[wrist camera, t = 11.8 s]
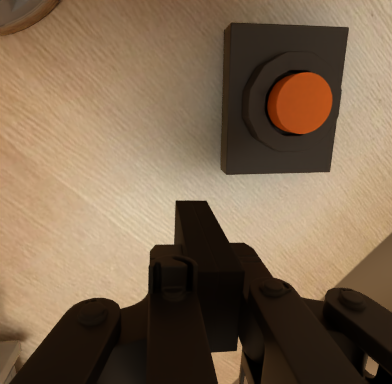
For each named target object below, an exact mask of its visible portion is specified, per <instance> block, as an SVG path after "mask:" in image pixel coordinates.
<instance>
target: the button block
mask: <svg viewBox="0 0 392 384" xmlns="http://www.w3.org/2000/svg"><path fill="white" fill-rule="evenodd" d="M348 31H349V28H348V27H328V26H304V25H279V24H255V23H231V24H230V25H229V26H228V27H227V28H226V29H225V30H224V61H223V97H222V133H221V170H222V171H223V172H224V173H225V174H226V175H235V174H274V173H313V172H330V168H331V160H332V152H333V145H334V137H335V129H336V122H337V118H338V115H339V107H340V100H341V91H342V90H341V84H342V76H343V69H344V61H345V53H346V46H347V38H348ZM303 72H311V73H315V74H317V75H319V76H321V77H322V78H323V79H324V80H325V81H326V82H327V83H328V85H329V87H330V89H331V93H332V107H331V111H330V113H329V116H328V117H327V119H326V120H325V122H324V123H323V124H322V125H321V126H320V127H319V128H317V129H316V130H314V131H312V132H309V133H306V134H297V133H292V132H287V131H283V130H281V129H279V128H277V127H276V126H275V125H274V124H273V123H272V121H271V119H270V117H269V115H268V110H267V102H268V97H269V94H270V92H271V90H272V88H273V87H274V85H275V84H276V83H277V82H278V81H279V80H281V79H282V78H284V77H286V76H289V75H293V74H298V73H303Z"/></svg>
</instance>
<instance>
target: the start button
mask: <svg viewBox="0 0 392 384" xmlns="http://www.w3.org/2000/svg"><path fill="white" fill-rule="evenodd" d="M331 107H332V93H331V89H330V87H329V85H328V83H327V82H326V81H325V80H324V79H323V78H322V77H321V76H319V75H317V74H315V73H311V72H303V73H298V74H293V75H289V76H286V77H284V78H282V79H281V80H279V81H278V82H277V83H276V84H275V85H274V87H273V88H272V90H271V92H270V94H269V97H268V102H267V110H268V115H269V117H270V119H271V121H272V123H273V124H274V125H275V126H276V127H277V128H279V129H281V130H283V131H287V132H292V133H297V134H306V133H309V132H312V131H314V130H316V129H317V128H319V127H320V126H321V125H322V124H323V123H324V122H325V120H326V119H327V117H328V116H329V113H330V111H331Z"/></svg>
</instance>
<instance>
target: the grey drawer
mask: <svg viewBox="0 0 392 384" xmlns="http://www.w3.org/2000/svg"><path fill="white" fill-rule="evenodd" d="M20 352H21V345H20V340H13V341H2V342H0V384H9V383H10V381H11V380H12V379H13V378H14V376H15V375H16V370H15V365H14V363H15V361H16V360H17V358H18V356H19V354H20Z"/></svg>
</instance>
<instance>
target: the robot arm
mask: <svg viewBox="0 0 392 384" xmlns="http://www.w3.org/2000/svg"><path fill="white" fill-rule="evenodd" d="M59 1H60V0H0V36H3V35H7V34H11V33H15V32H17V31H20V30H23V29H25V28H27V27H29V26H31V25H33V24H34V23H36V22H37V21H39V20H41V19H42V18H43V17H44V16H45V15H47V14H48V13H49V12H50V11H51V10H52V9H53V8H54V7H55V6H56V5H57V3H58V2H59ZM238 336H239V339H240V342H241V344H242V356H241V365H240V374H239V384H243V382H244V376H246V379H247V381H248V384H392V312H390V311H389V310H387V309H386V308H384V307H382V306H381V305H380V304H378V303H377V302H375V301H374V300H372V299H370V298H369V297H367V296H366V295H363V294H362V293H360V292H357V291H354V290H352V289H348V288H347V289H346V288H332V289H330V290H328V291H327V293H326V295H325V300H324V301H319V300H312V299H306V298H302V297H300V295H299V294H298V293H297V291H296V290H295V289H294V288H293V287H292V286H291V285H290V284H289V283H287V282H285V281H283V280H280V279H277V278H273V276H272V275H271V274H270V272H269V271H268V269H267V268H266V266H265V265H264V263H263V262H262V261H261V259H260V258H259V257H258V255H257V253H256V252H255V250H254V249H253V248H252V247H250V246H248V245H247V244H245V243H229V241H228V239H227V238H226V236H225V234H224V232H223V230H222V228H221V227H220V225H219V223H218V221H217V219H216V217H215V216H214V214H213V212H212V210H211V208H210V207H209V205H208V203H207V201H176V209H175V238H174V245H155V246H154V247H153V248H152V249H151V251H150V265H149V281H148V294H147V295H146V297H145V298H144V299H143V300H142V301H140V302H138V303H137V304H135V305H132V306H129V307H126V308H122V309H120V307H119V305H118V304H117V303H116V302H114V301H113V300H110V299H106V298H92V299H88V300H84V301H81V302H79V303H77V304H75V305H73V306H72V307H71V308H70V309H69V310H68V311H67V312H66V313H65V314H64V315H63V317H62V318H61V319H60V320H59V322H58V323H57V324H56V325H55V327H54V328H53V329H52V330H51V332H50V333H49V334H48V335H47V337H46V338H45V339H44V340H43V342H42V343H41V344H40V345H39V347H38V348H37V349H36V350H35V352H34V353H33V354H32V355H31V357H30V358H29V359H28V360H27V362H26V363H25V364H24V365H23V367H22V368H21V369H20V370H19V371H18V373H17V374H16V375H15V376H14V378H13V379H12V380H11V381H10V383H9V384H218V381H217V377H216V373H215V369H214V364H213V360H212V356H211V353H212V352H227V351H237V343H238ZM368 356H370V357H371V358H372V359H373V360H374V361H375V362H377V363H378V364H379V366H378V370H377V374H376V376H374V375H372V374H370V373H369V372H367V371H366V370H365V366H366V363H367V359H368Z"/></svg>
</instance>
